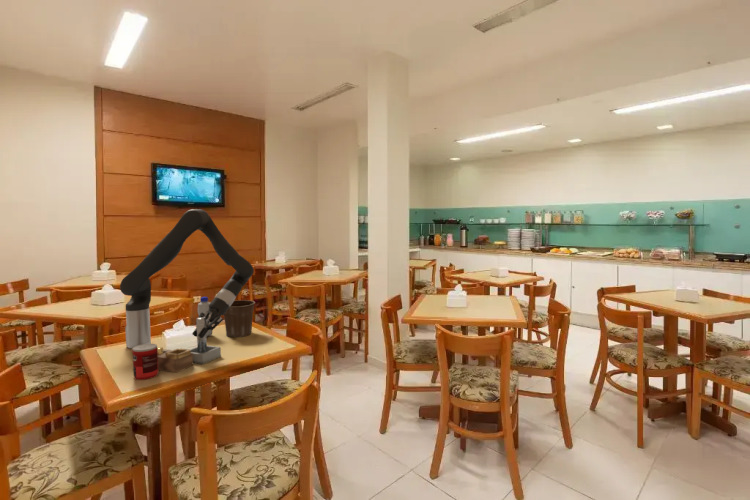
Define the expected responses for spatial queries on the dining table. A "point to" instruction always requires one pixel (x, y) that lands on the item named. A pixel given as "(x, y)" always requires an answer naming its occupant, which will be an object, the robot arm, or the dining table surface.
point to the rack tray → (206, 354)
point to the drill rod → (200, 341)
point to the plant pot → (239, 318)
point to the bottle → (204, 310)
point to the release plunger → (160, 350)
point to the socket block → (175, 360)
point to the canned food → (145, 361)
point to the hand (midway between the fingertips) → (197, 336)
